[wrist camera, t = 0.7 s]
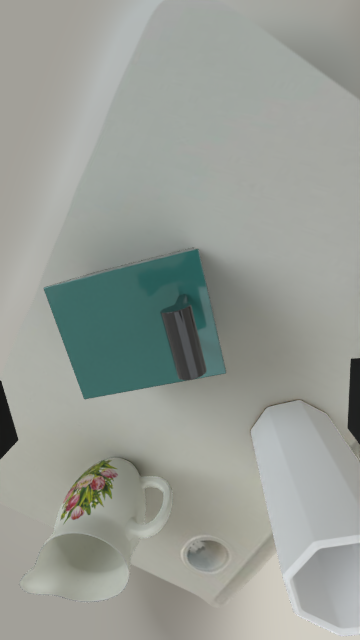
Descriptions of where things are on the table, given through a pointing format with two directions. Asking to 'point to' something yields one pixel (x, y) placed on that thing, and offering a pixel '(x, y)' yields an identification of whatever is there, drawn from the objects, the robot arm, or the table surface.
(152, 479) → the pitcher
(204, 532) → the table surface
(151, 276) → the lid
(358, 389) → the robot arm
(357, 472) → the cup
